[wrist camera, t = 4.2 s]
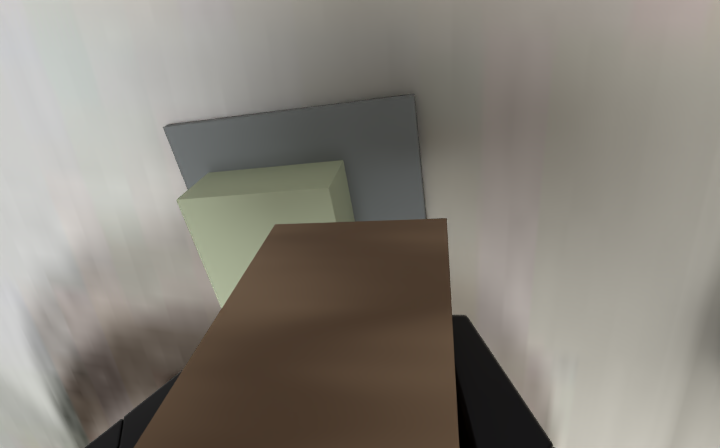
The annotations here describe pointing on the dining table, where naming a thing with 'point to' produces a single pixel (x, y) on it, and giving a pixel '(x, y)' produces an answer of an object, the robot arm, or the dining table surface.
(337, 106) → the build mat
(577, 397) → the dining table surface
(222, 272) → the base block
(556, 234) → the dining table surface
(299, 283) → the walnut block
